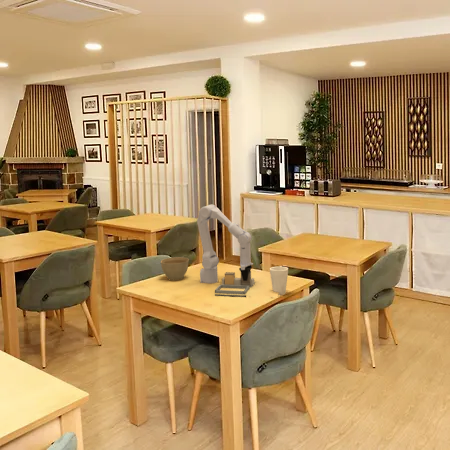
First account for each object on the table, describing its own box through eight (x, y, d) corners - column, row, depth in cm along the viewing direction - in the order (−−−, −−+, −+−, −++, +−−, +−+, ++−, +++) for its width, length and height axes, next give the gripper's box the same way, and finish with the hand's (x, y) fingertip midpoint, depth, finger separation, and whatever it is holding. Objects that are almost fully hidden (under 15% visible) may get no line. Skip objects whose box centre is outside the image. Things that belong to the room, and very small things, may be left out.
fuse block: (251, 289, 297) (251, 281, 296) (220, 288, 301) (220, 280, 300) (255, 284, 306) (255, 276, 306) (225, 283, 311) (224, 275, 310)
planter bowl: (169, 274, 336) (168, 256, 334) (193, 275, 330) (193, 257, 328) (156, 281, 321) (155, 262, 319) (182, 283, 315) (181, 264, 314)
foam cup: (283, 296, 283) (283, 271, 281) (267, 294, 288) (266, 269, 285) (291, 291, 291) (291, 267, 288) (275, 289, 295) (275, 265, 293)
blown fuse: (240, 282, 301) (240, 272, 300) (242, 281, 304) (241, 270, 303) (250, 283, 300) (249, 272, 299) (251, 281, 303) (250, 270, 302)
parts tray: (214, 295, 288) (214, 290, 288) (220, 289, 299) (220, 284, 298) (245, 297, 284) (244, 291, 284) (249, 291, 295) (249, 285, 294)
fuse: (224, 284, 304) (224, 273, 303) (226, 282, 307) (226, 272, 306) (233, 284, 303) (233, 273, 302) (235, 283, 305) (234, 272, 304)
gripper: (249, 258, 292) (250, 283, 294) (255, 252, 306) (256, 276, 308) (236, 258, 294) (237, 283, 296) (242, 252, 307) (243, 276, 310)
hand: (246, 279), depth 302 cm, fingers closed on blown fuse, 3 cm apart
